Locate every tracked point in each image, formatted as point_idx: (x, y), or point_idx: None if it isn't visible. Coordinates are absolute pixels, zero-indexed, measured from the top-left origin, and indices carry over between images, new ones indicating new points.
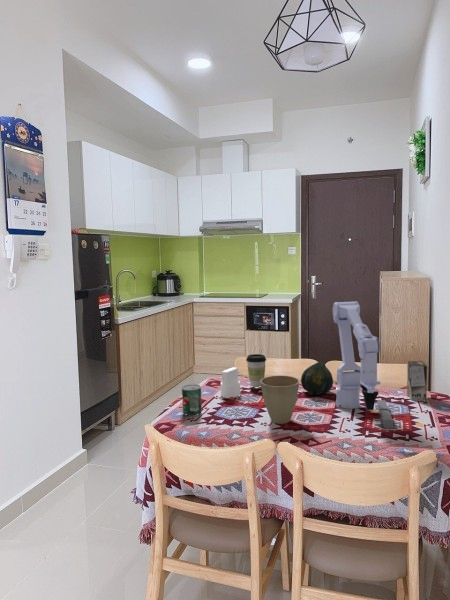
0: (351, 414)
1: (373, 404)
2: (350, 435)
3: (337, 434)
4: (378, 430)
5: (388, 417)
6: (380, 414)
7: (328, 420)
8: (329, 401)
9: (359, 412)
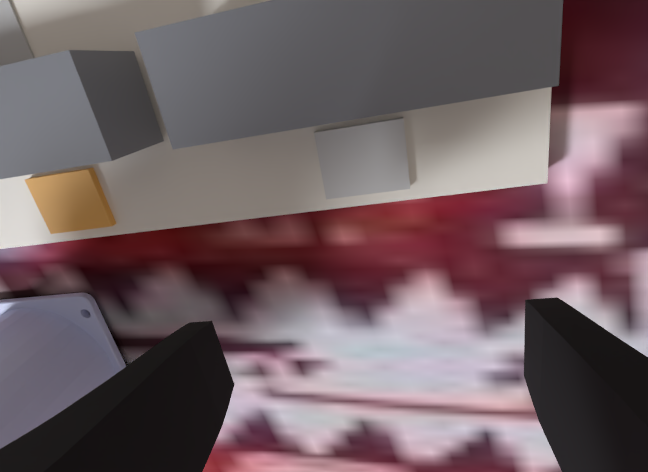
0: None
1: (645, 367)
2: None
3: None
4: None
5: (434, 20)
6: (153, 140)
7: (346, 468)
8: None
9: (104, 300)
